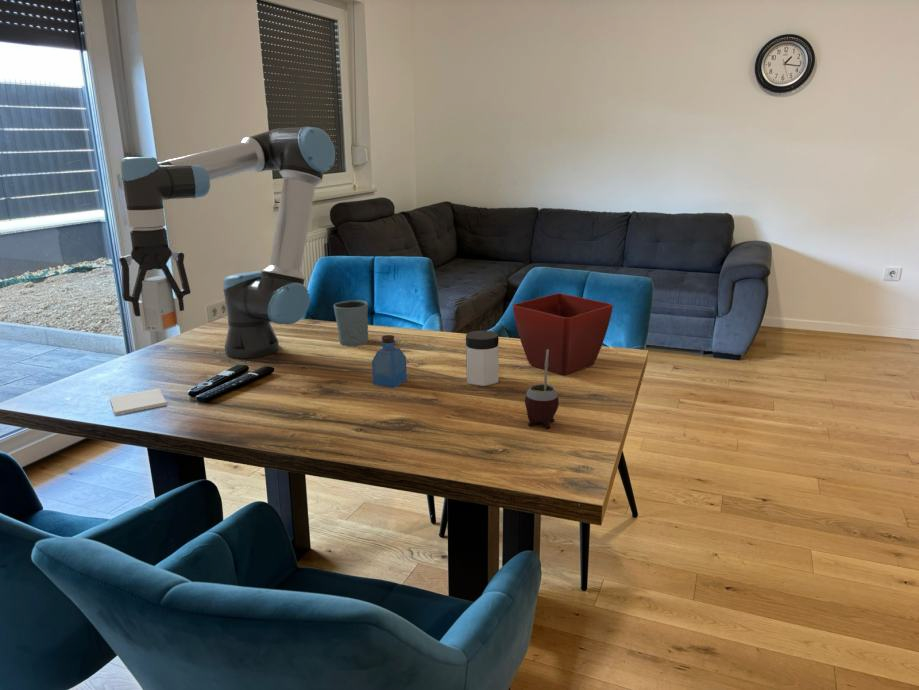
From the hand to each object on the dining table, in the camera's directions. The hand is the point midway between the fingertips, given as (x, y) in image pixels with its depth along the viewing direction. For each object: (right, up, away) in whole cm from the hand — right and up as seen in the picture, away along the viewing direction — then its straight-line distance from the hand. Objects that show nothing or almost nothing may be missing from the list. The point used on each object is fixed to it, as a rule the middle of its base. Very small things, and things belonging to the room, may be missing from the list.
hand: (161, 326), depth 157 cm
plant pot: (+97, -10, +23) cm, 100 cm away
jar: (+76, -13, +13) cm, 78 cm away
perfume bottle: (+52, -14, +12) cm, 56 cm away
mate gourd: (+88, -21, -13) cm, 91 cm away
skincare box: (0, -1, 0) cm, 1 cm away
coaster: (-6, -18, +2) cm, 19 cm away
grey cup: (+38, -4, +46) cm, 60 cm away
